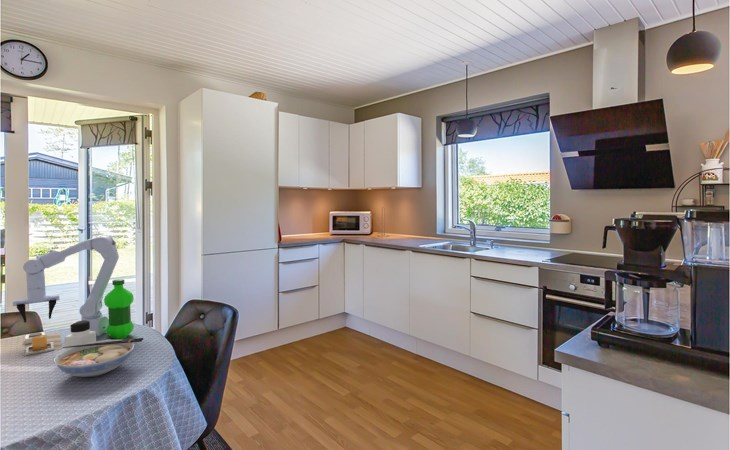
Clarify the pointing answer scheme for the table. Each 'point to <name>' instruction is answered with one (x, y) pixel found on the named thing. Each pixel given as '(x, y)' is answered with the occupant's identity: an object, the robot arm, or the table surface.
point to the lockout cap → (39, 342)
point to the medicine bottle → (80, 334)
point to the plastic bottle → (119, 310)
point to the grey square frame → (39, 350)
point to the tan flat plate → (50, 338)
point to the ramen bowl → (94, 357)
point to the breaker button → (35, 334)
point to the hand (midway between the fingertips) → (37, 320)
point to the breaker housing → (28, 339)
